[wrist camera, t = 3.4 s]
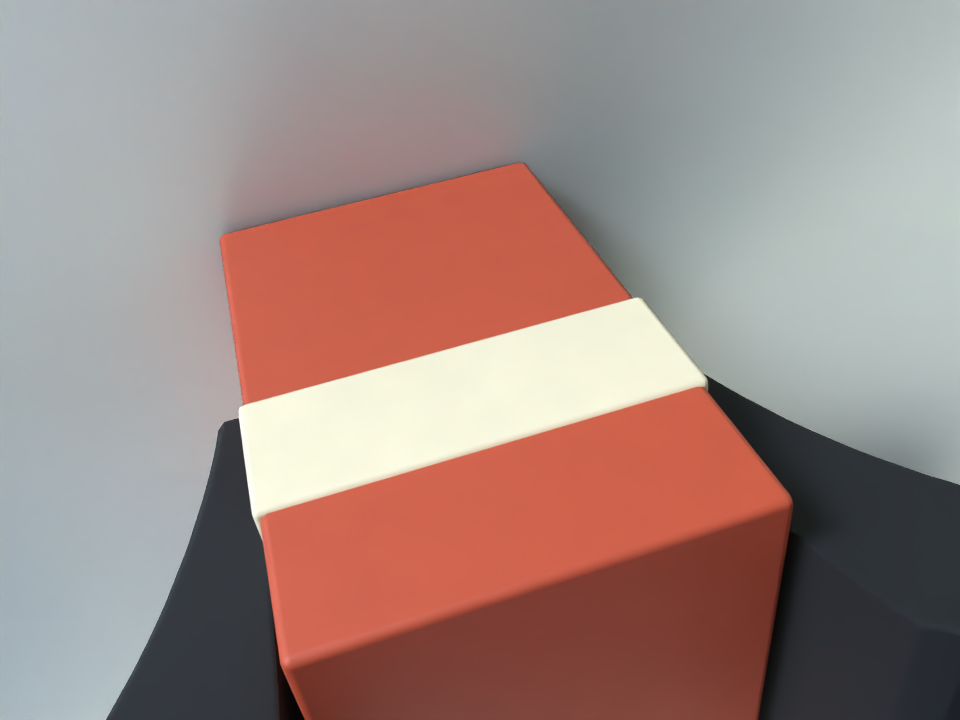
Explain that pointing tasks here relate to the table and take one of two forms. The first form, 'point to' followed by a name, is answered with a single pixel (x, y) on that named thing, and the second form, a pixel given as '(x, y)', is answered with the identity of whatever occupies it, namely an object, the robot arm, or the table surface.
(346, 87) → the table surface
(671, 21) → the table surface
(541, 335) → the red cream striped block
